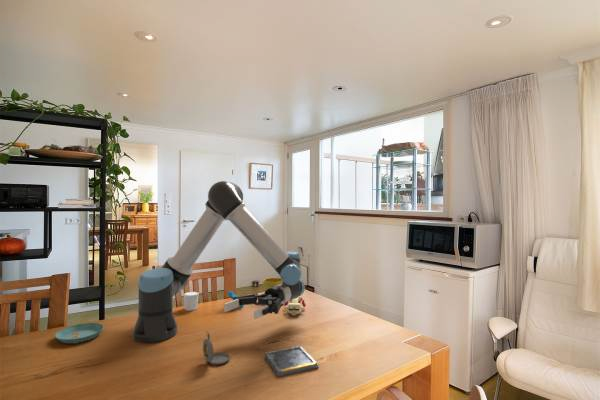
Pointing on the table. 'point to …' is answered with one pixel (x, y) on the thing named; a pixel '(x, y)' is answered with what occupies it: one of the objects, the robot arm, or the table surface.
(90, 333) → the saucer
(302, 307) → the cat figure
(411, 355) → the table surface
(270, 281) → the plant pot
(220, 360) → the pocket watch
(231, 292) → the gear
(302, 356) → the pocket plate
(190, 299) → the white cup
